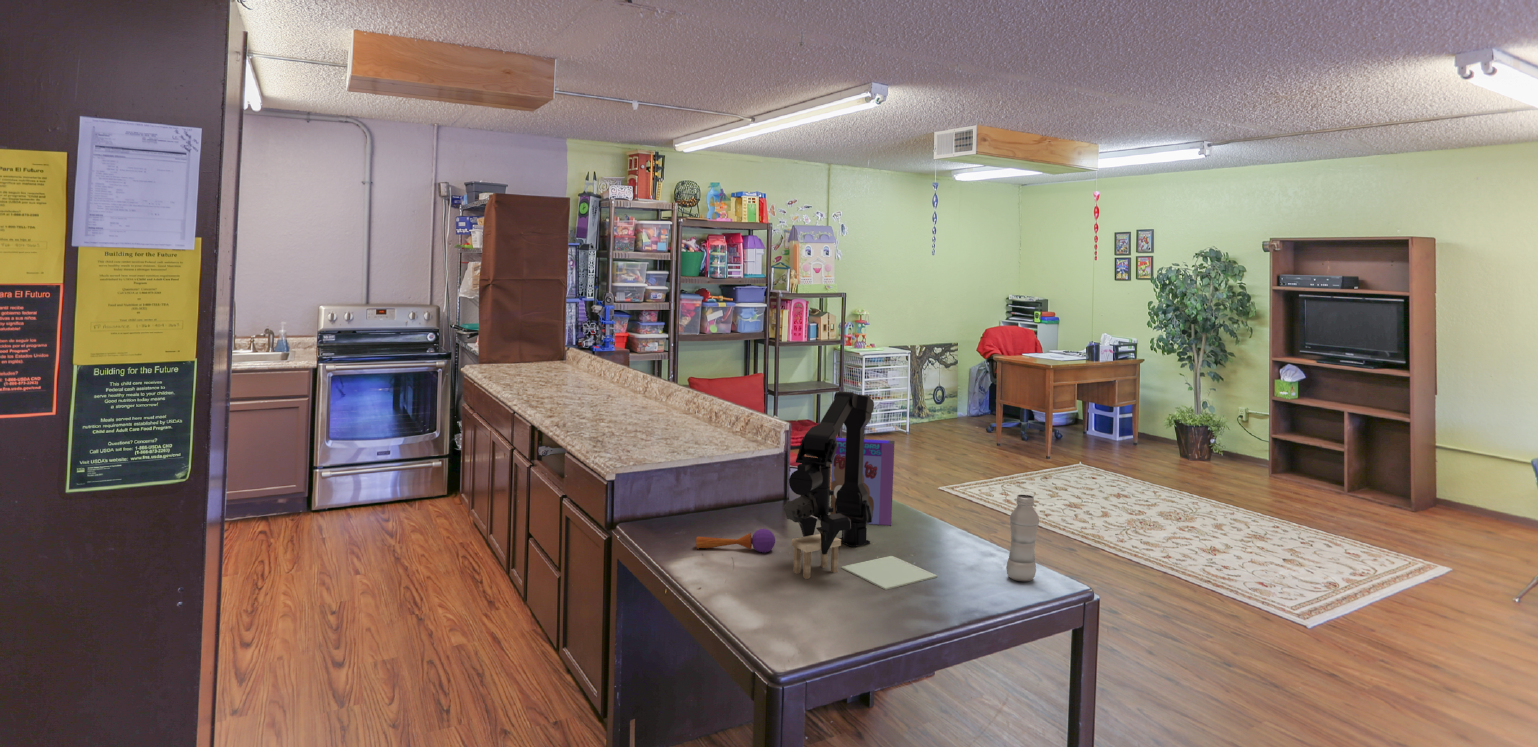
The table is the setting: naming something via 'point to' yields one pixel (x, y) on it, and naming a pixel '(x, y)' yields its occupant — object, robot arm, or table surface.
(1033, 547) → the plastic bottle
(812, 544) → the beige wooden bench
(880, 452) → the cereal box
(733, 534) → the table surface
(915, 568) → the mat
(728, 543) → the kendama
